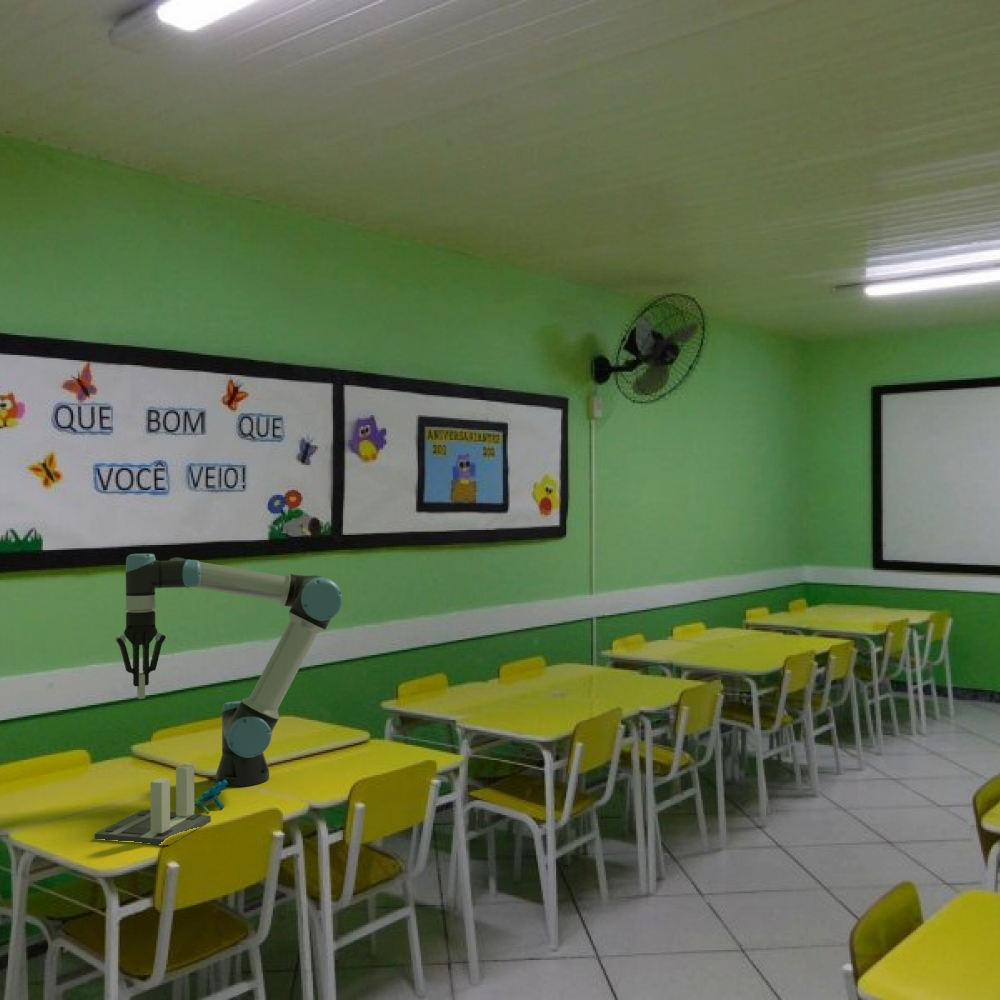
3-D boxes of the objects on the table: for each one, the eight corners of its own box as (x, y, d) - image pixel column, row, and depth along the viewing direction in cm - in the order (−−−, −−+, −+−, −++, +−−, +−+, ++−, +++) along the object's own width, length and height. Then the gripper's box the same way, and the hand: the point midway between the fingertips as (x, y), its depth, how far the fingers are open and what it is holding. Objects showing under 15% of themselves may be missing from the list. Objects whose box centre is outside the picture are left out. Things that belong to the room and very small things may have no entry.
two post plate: (94, 839, 240) (94, 780, 240) (141, 816, 258) (141, 761, 258) (168, 846, 235) (167, 786, 235) (210, 821, 253) (210, 765, 253)
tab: (150, 832, 239) (150, 782, 239) (159, 827, 242) (158, 778, 242) (161, 833, 238) (161, 782, 238) (170, 828, 241) (169, 778, 241)
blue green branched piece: (214, 794, 272) (231, 772, 267) (227, 811, 270) (244, 789, 266) (183, 811, 262) (200, 788, 258) (197, 828, 260) (214, 806, 256)
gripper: (162, 608, 277) (162, 693, 277) (112, 610, 270) (113, 698, 270) (168, 610, 270) (168, 697, 270) (117, 613, 264) (118, 702, 264)
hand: (141, 697), depth 270 cm, fingers closed
